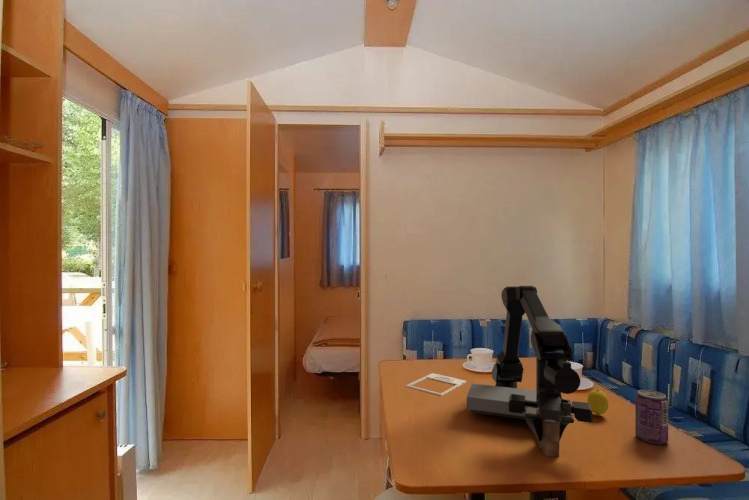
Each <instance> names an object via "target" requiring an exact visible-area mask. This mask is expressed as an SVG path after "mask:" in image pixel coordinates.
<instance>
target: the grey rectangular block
mask: <svg viewBox="0 0 749 500" xmlns="http://www.w3.org/2000/svg"><path fill="white" fill-rule="evenodd" d="M511 394H516V395H525V400H528V401H536V390H535V389H534V390H533V389H527V388H518V387H517V388H509V387H500V386H495V385H489V384H481V383H471V384H470V387H469V390H468V393H467V395H466V410H470V413H475V414H483V415H489V416H490V415H491V416H498V417H505V418H511V419H512V418H513V419H521V420H526V416H525V412H523V413H522V414H521V413H513V412H510V411H509V396H510V395H511ZM538 413H539V410H538Z"/></svg>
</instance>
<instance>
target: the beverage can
mask: <svg viewBox="0 0 749 500" xmlns="http://www.w3.org/2000/svg"><path fill="white" fill-rule="evenodd" d="M634 401H635V403H634V405H635V415H634V416H635V417H634V418H635V419H634V420H635V423H634V424H635V426H634V428H635V429H634V430H635V432H634V433H635V436H637V437H638V438H640V439H641V440H642V441H644V442H646V443H648V444H653V445H662V444H666V443H668V442H669V403H668V400H667V395H666V394H664V393H662V392H660V391H655V390H651V389H639V390H637V395H636V396H635V400H634Z"/></svg>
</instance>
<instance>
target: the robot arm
mask: <svg viewBox="0 0 749 500" xmlns="http://www.w3.org/2000/svg"><path fill="white" fill-rule="evenodd" d="M501 301H502V304H503V306H504V308H505V309H506V315H505V316H506V317H505V327H504V336H503V337H504V338H503V345H502V351H501V352H500V353H498V354H497V356H496V361H495V363H493V364H494V365H493V368H491V379H493V381H494V383H495V385H494V386H500V387H509V388H518V383H522V381H523V374H524V366H523V363H522V361H521V360H520V358H519V356H518V355H519V349H520V341H521V340H520V339H521V334H522V333H521V332H522V331H521V330H522V324H523V317H524V315H526V317H527V320H528V322H529V323H530V324H529V325H530V326H531V332H530V333H531V334H530V342H531V346H532V349H533V352H534V356H535V359H536V361H535V362H536V363H535V364H536V366H535V367H536V370H535V371H536V375H535V378H536V379H535V383H536V385H535V389H536V401H528V400H525V395H516V394H511V395H510V396H509V411H510V412H513V413H521V414H522V413H523V412H525V416H526V417H529V418H530V419H531V420H532V422H533V424H534V427H535V430H536V433H537V436H538V438H537V440H538V439H539V441H541V431H540V424H539V417H540V418H541V419H543V420H554V421H556V422H558V423H559V424H560V431H559V443H560V441H561V439H562V438H563V437H562V436H563V434H564V432H565V429H567V426H568V425H569V424H574V423H575V419H576V420H577V422H584V423H593V422H594V418H593V417H594V414H593V412H592V410H591V407H590V405H589V404H588V402H586V401H585V402H584V401H574V400H572V401H571V399H564V398H563V397H562V394H566V395H570V394H573V393H575V392H576V391H577V390H578V389H579V388H580V385H581V378H580V375H579V374H578V372H577V371H576V370H575V369H573V368H572V363H571V362H570V361H573V360H574V357H573V353H574V351H573V349H572V347H571V345H570V342H569V339H568V337H567V334H566V333H565V332H564V330H563V329H562V327H561V326H560V324H558V322H555V321H554V320H552V319H551V318H550V317H549V315H548V313H547V311H546V309H545V307H544V305H543V303H542V301H541V299H540V297H539V295H538V290H537V287H536V286H533V285H519V286H505V287H503V289H502V291H501ZM538 410H539V417H538Z"/></svg>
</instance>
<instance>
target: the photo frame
mask: <svg viewBox="0 0 749 500" xmlns="http://www.w3.org/2000/svg"><path fill="white" fill-rule="evenodd" d="M426 379H429V380H432V379H434V380H433V381H437V380H438V382H441V381H442V382H441V383H445V382H446V383H445V384H449V383H451V384H450V385H453V384H455V385H454V386H452V387H450V388H447V390H444V391H443V392H441V393H440V392H437V391H433V390H429V389H424V388H422V387H418V386H417V387H416V386H415V385H416V384H417V383H420V382H421V381H424V380H426ZM463 383H464V384H465V383H467V380H464V379H459V378H456V377H451V376H447V375H443V374H438V373H434V372H432V373H430V374H427V375H425V376H423V377H421V378H419V379H416V380H415V381H412V382H410V383H409V384H406V385H405V386H406V388H410V389H413V390H417V391H421V392H425V393H429V394H433V395H435V396H440V397H443V396H444V395H446V394H447V393H449V391H450V392H451V391H453V390H455V389H457V388H458V387H460V386H462V385H463ZM456 387H457V388H456Z"/></svg>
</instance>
